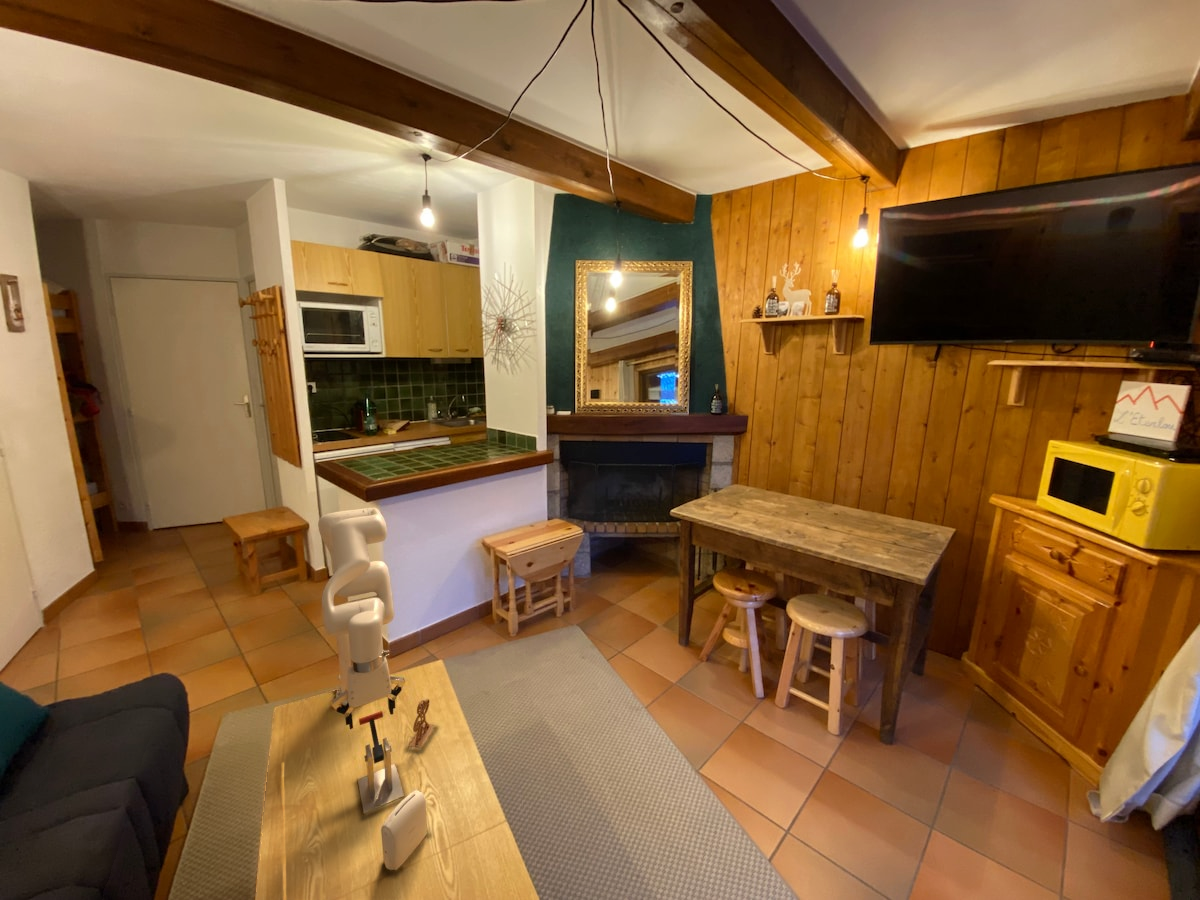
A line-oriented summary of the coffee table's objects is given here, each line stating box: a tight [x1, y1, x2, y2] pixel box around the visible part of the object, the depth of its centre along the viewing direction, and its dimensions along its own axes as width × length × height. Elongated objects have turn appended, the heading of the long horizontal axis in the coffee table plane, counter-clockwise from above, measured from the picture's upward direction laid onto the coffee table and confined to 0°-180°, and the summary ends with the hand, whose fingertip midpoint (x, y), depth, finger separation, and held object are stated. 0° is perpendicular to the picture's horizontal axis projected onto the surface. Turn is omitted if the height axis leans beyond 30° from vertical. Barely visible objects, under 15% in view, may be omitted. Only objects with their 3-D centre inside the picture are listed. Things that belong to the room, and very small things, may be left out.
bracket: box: [357, 737, 405, 815], centre depth 119 cm, size 11×9×13 cm
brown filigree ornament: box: [408, 698, 436, 749], centre depth 136 cm, size 9×4×12 cm, turn 171°
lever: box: [358, 710, 384, 765], centre depth 121 cm, size 12×6×2 cm, turn 34°
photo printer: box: [380, 789, 428, 871], centre depth 105 cm, size 10×4×12 cm, turn 156°
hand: (371, 718), depth 125 cm, fingers open, 9 cm apart
